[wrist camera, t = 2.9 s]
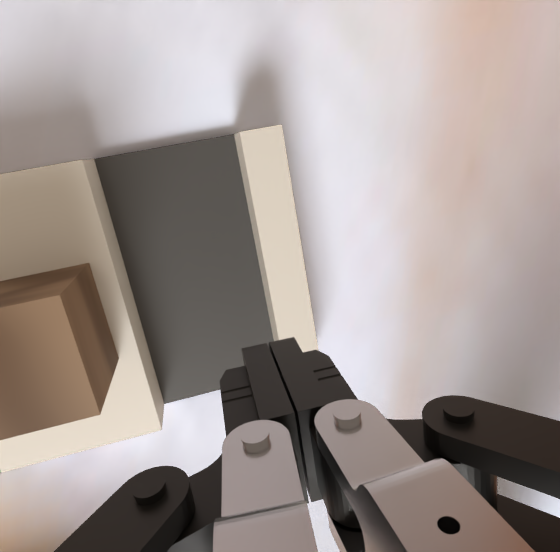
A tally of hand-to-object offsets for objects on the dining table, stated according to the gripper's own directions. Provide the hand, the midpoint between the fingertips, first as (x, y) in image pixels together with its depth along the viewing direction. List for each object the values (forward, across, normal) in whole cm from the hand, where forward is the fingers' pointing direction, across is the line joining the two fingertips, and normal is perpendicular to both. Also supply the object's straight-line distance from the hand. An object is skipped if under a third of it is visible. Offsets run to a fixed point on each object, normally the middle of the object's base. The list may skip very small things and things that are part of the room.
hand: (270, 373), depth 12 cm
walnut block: (+10, +9, +1) cm, 14 cm away
